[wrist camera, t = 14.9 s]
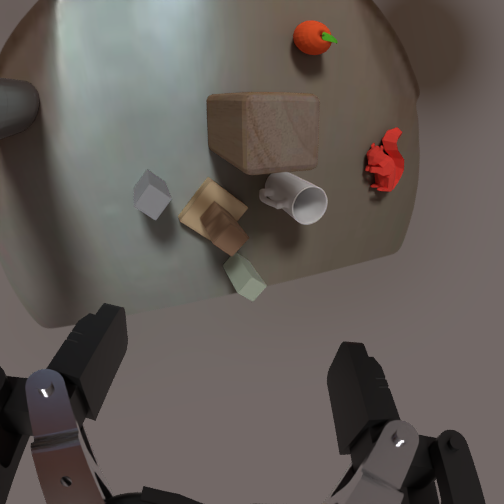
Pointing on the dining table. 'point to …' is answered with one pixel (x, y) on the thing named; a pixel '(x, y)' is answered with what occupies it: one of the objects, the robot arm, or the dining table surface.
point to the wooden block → (265, 130)
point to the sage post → (244, 277)
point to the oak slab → (204, 199)
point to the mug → (294, 197)
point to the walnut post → (223, 229)
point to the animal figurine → (386, 161)
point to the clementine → (313, 37)
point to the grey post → (151, 195)
